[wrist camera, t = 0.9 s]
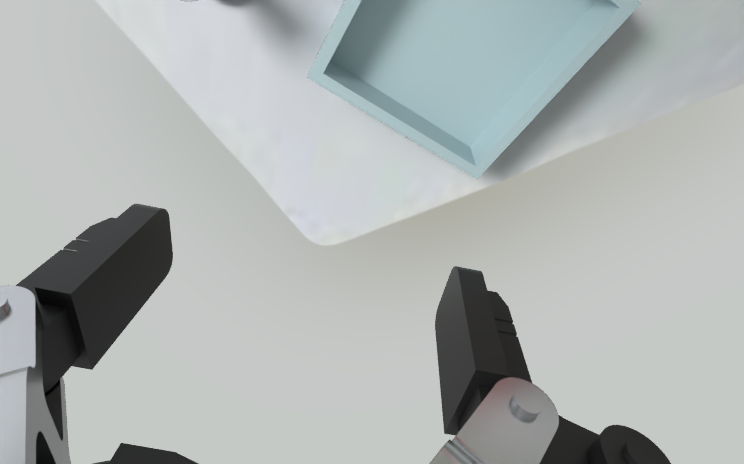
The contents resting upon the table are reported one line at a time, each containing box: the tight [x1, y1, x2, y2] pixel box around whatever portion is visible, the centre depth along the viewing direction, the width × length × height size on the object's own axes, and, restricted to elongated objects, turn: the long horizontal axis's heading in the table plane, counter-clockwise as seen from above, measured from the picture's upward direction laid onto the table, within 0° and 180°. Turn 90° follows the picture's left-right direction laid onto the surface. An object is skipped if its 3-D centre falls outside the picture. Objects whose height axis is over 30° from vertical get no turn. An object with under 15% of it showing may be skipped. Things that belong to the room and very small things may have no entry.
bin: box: [307, 0, 641, 179], centre depth 26 cm, size 14×14×4 cm
